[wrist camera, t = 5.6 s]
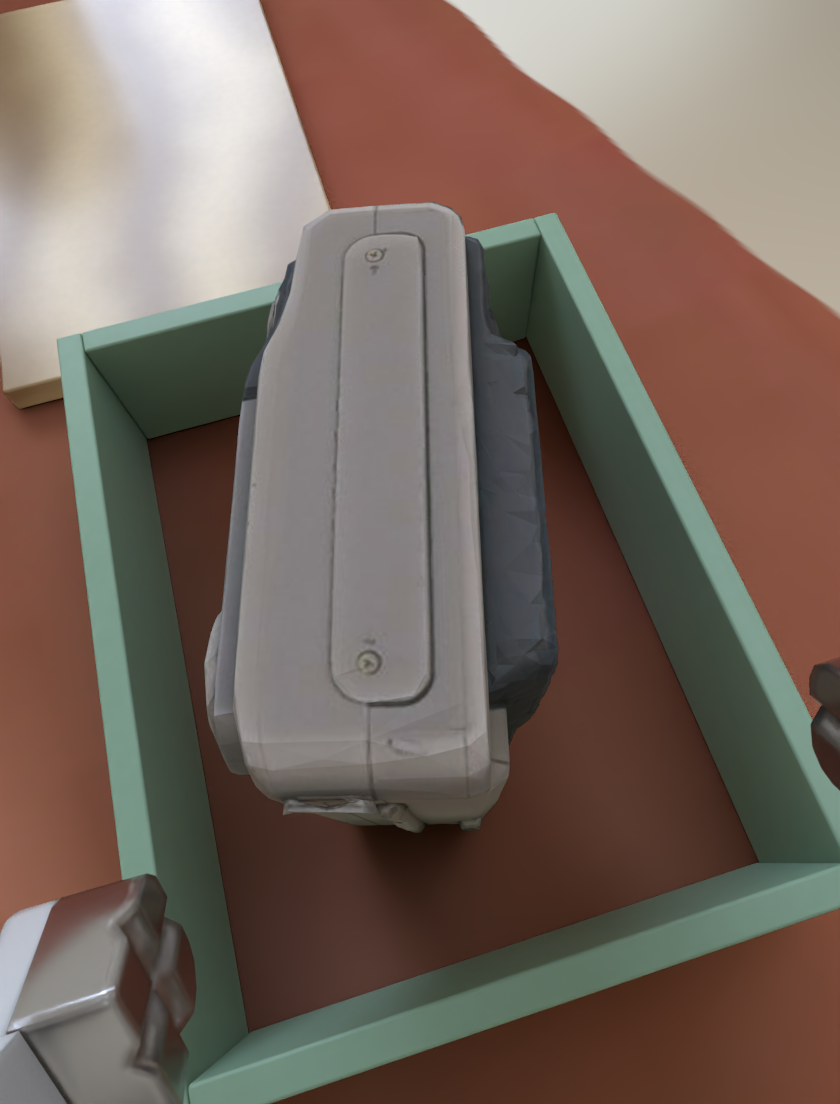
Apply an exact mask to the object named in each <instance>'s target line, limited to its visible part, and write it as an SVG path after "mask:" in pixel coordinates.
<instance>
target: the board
mask: <svg viewBox="0 0 840 1104" xmlns="http://www.w3.org/2000/svg"><path fill="white" fill-rule="evenodd" d="M329 210H331V208H330V205H329V202H328V199H327V196H326V193H325V190H324V187H323V184H322V181H321V178H320V176H319V173H318V170H317V167H316V164H315V161H314V158H313V155H312V152H311V149H310V146H309V143H308V140H307V137H306V134H305V131H304V128H303V125H302V122H301V119H300V117H299V114H298V111H297V108H296V105H295V102H294V99H293V96H292V93H291V90H290V87H289V84H288V81H287V78H286V75H285V72H284V69H283V66H282V63H281V60H280V58H279V55H278V52H277V49H276V46H275V43H274V40H273V37H272V34H271V31H270V28H269V25H268V22H267V19H266V16H265V13H264V10H263V7H262V4H261V1H260V0H62V1H57V2H53V3H48V4H44V5H39V6H34V7H30V8H25V9H21V10H16V11H12V12H7V13H2V14H0V362H1V375H2V387H3V393H4V394H5V395H6V396H7V397H8V398H9V399H10V400H11V401H12V402H13V403H14V405H15V406H16V407H17V408H19V409H21V408H25V407H29V406H33V405H37V404H41V403H44V402H48V401H52V400H56V399H60V398H63V390H62V381H61V373H60V365H59V357H58V349H57V339H58V338H62V337H66V336H70V335H74V334H78V333H80V334H83V333H84V332H86V331H90V330H94V329H98V328H102V327H106V326H110V325H114V324H118V323H122V322H126V321H130V320H134V319H138V318H142V317H145V316H149V315H153V314H157V313H161V312H165V311H169V310H173V309H177V308H181V307H185V306H189V305H193V304H197V303H201V302H204V301H208V300H212V299H216V298H220V297H224V296H228V295H232V294H236V293H240V292H244V291H248V290H252V289H256V288H260V287H263V286H267V285H271V284H275V283H279V282H283V280H284V278H285V274H286V270H287V266H288V264H289V263H291V262H293V261H295V260H296V257H297V253H298V249H299V244H300V240H301V236H302V231H303V227H304V226H305V225H306V224H308V223H310V222H311V221H313V220H314V219H316V218H317V217H319V216H321V215H322V214H324V213H325V212H327V211H329Z"/></svg>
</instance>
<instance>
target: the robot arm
mask: <svg viewBox="0 0 840 1104" xmlns="http://www.w3.org/2000/svg"><path fill="white" fill-rule="evenodd" d="M809 686H810V695H811V696H812V697H813V698H814V699H815V700H816V701H817V702H818V703H819V704H820V705H822V706H821V707H820V709H819V711H818V712H817V714H816V716H815V717H814V719H813V721H812V723H811V724H810V725H811V738H812V747H813V750H814V752H815V755H816V757H817V759H818V762H819V764H820V767H821V769H822V770H823V771H824V773H825V774H826V776H827V777H828V778H829V780H830V781H831V782H832V784H833V785H834V786H835V787H836V788H837V789H838V790H839V791H840V657H839V658H836V659H833V660H830V661H827V662H823V663H820V664H817V665H814V667H813V670H812V672H811V674H810V677H809ZM166 903H167V895H166V893H165V891H164V889H163V888H162V886H161V884H160V882H159V880H158V879H157V877H156V876H155V875H151V874H148V873H146V874H143V875H139V876H136V877H132V878H129V879H125V880H122V881H118V882H115V883H111V884H108V885H104V886H101V887H97V888H94V889H90V890H87V891H83V892H80V893H76V894H73V895H69V896H66V897H62V898H61V899H60V900H55V901H51V902H48V903H44V904H41V905H37V906H34V907H31V908H27V909H24V910H20V911H17V912H16V913H15V914H14V915H12V916H11V917H10V918H9V919H8V920H7V921H6V922H5V924H4V926H3V928H2V931H1V933H0V1104H183V1101H184V1093H185V1085H186V1077H187V1069H188V1061H189V1051H188V1049H187V1047H186V1045H185V1043H184V1041H183V1039H182V1037H181V1035H180V1033H181V1032H182V1030H183V1029H184V1027H185V1026H186V1024H187V1023H188V1021H189V1020H190V1018H191V1017H192V1015H193V1014H194V1011H195V1001H196V991H197V985H196V973H195V961H194V957H193V953H192V950H191V946H190V943H189V940H188V937H187V935H186V933H185V931H184V929H183V927H182V925H181V924H179V923H177V922H175V921H173V920H171V919H169V918H167V917H165V916H164V914H165V908H166Z"/></svg>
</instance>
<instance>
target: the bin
mask: <svg viewBox="0 0 840 1104" xmlns="http://www.w3.org/2000/svg"><path fill="white" fill-rule="evenodd" d="M465 237H472V238H476V239H478V240H479V242H480V243H481V245H482V246H483V248H484V250H485V252H484V261H485V266H486V272H487V277H488V282H489V287H490V290H489V305H488V308H489V309H490V310H491V311H492V312H493V315H494V318H495V320H496V323H497V325H498V328H499V331H500V334H501V338H503V339H506V340H508V341H511V342H513V341H517V340H521V339H524V338H525V337H527V339H528V341H529V344H530V346H531V348H532V350H533V353H534V355H535V357H536V360H537V362H538V364H539V366H540V369H541V371H542V373H543V375H544V378H545V380H546V382H547V384H548V387H549V389H550V391H551V393H552V396H553V398H554V400H555V402H556V405H557V407H558V409H559V411H560V414H561V416H562V418H563V420H564V423H565V425H566V427H567V429H568V432H569V434H570V436H571V439H572V441H573V443H574V445H575V448H576V450H577V452H578V454H579V457H580V459H581V461H582V463H583V466H584V468H585V470H586V472H587V475H588V477H589V479H590V481H591V484H592V486H593V488H594V490H595V493H596V495H597V497H598V499H599V502H600V504H601V506H602V509H603V511H604V513H605V515H606V518H607V520H608V522H609V524H610V527H611V529H612V531H613V533H614V536H615V538H616V540H617V542H618V545H619V547H620V549H621V551H622V554H623V556H624V558H625V560H626V563H627V565H628V567H629V569H630V572H631V574H632V576H633V578H634V581H635V583H636V585H637V588H638V590H639V592H640V594H641V597H642V599H643V601H644V603H645V606H646V608H647V610H648V612H649V615H650V617H651V619H652V621H653V624H654V626H655V628H656V630H657V633H658V635H659V637H660V639H661V642H662V644H663V646H664V648H665V651H666V653H667V655H668V657H669V660H670V662H671V664H672V667H673V669H674V671H675V673H676V676H677V678H678V680H679V682H680V685H681V687H682V689H683V691H684V694H685V696H686V698H687V700H688V703H689V705H690V707H691V709H692V712H693V714H694V716H695V718H696V721H697V723H698V725H699V727H700V730H701V732H702V734H703V736H704V739H705V741H706V743H707V746H708V748H709V750H710V752H711V755H712V757H713V759H714V761H715V764H716V766H717V768H718V770H719V773H720V775H721V777H722V779H723V782H724V784H725V786H726V788H727V791H728V793H729V795H730V797H731V800H732V802H733V804H734V806H735V809H736V811H737V813H738V816H739V818H740V820H741V822H742V825H743V827H744V829H745V831H746V834H747V836H748V838H749V840H750V843H751V845H752V847H753V849H754V852H755V854H756V856H757V858H758V861H759V863H754V864H751V865H748V866H745V867H742V868H739V869H736V870H733V871H730V872H727V873H724V874H721V875H718V876H715V877H712V878H709V879H706V880H703V881H700V882H697V883H694V884H691V885H688V886H685V887H682V888H679V889H676V890H673V891H670V892H667V893H664V894H661V895H658V896H655V897H652V898H649V899H646V900H643V901H640V902H637V903H634V904H631V905H628V906H625V907H622V908H619V909H616V910H613V911H610V912H607V913H604V914H601V915H598V916H595V917H592V918H589V919H586V920H583V921H581V922H578V923H575V924H572V925H569V926H566V927H563V928H560V929H557V930H554V931H551V932H548V933H545V934H542V935H539V936H536V937H533V938H530V939H527V940H524V941H521V942H518V943H515V944H512V945H509V946H506V947H503V948H500V949H497V950H494V951H491V952H488V953H485V954H482V955H479V956H476V957H473V958H470V959H467V960H464V961H461V962H458V963H455V964H452V965H449V966H446V967H443V968H440V969H437V970H434V971H431V972H428V973H425V974H422V975H419V976H416V977H413V978H410V979H407V980H404V981H401V982H398V983H395V984H392V985H389V986H386V987H383V988H380V989H377V990H374V991H371V992H368V993H365V994H362V995H359V996H356V997H353V998H350V999H347V1000H344V1001H341V1002H338V1003H335V1004H332V1005H329V1006H326V1007H323V1008H320V1009H317V1010H314V1011H311V1012H308V1013H305V1014H302V1015H299V1016H296V1017H293V1018H290V1019H287V1020H284V1021H281V1022H278V1023H275V1024H272V1025H269V1026H266V1027H263V1028H260V1029H257V1030H254V1031H252V1032H251V1033H248V1027H247V1021H246V1016H245V1010H244V1004H243V998H242V992H241V987H240V981H239V975H238V969H237V963H236V957H235V952H234V946H233V940H232V934H231V928H230V922H229V917H228V911H227V905H226V899H225V893H224V887H223V882H222V876H221V870H220V864H219V858H218V852H217V847H216V841H215V835H214V829H213V823H212V817H211V812H210V806H209V800H208V794H207V788H206V783H205V777H204V771H203V765H202V759H201V753H200V748H199V742H198V736H197V730H196V724H195V718H194V713H193V707H192V701H191V695H190V689H189V683H188V678H187V672H186V666H185V660H184V654H183V648H182V643H181V637H180V631H179V625H178V619H177V614H176V608H175V602H174V596H173V590H172V584H171V579H170V573H169V567H168V561H167V555H166V549H165V544H164V538H163V532H162V526H161V520H160V514H159V509H158V503H157V497H156V491H155V485H154V479H153V474H152V468H151V462H150V456H149V450H148V444H147V439H146V437H147V438H148V439H150V438H154V437H158V436H162V435H165V434H169V433H173V432H176V431H180V430H184V429H188V428H191V427H195V426H199V425H203V424H206V423H210V422H214V421H218V420H221V419H225V418H229V417H233V416H236V415H240V413H241V406H242V399H243V393H244V387H245V380H246V378H247V375H248V373H249V370H250V368H251V365H252V363H253V362H254V360H255V359H256V357H257V355H258V354H259V352H260V351H261V349H262V347H263V345H264V343H265V341H266V339H267V324H268V318H269V314H270V310H271V306H272V302H273V301H275V298H276V295H277V292H278V289H279V288H280V286H281V284H282V282H279V283H275V284H271V285H267V286H263V287H260V288H256V289H252V290H248V291H244V292H240V293H236V294H232V295H228V296H224V297H220V298H216V299H212V300H208V301H204V302H201V303H197V304H193V305H189V306H185V307H181V308H177V309H173V310H169V311H165V312H161V313H157V314H153V315H149V316H145V317H142V318H138V319H134V320H130V321H126V322H122V323H118V324H114V325H110V326H106V327H102V328H98V329H94V330H90V331H86V332H84V333H83V334H80V333H78V334H74V335H70V336H66V337H62V338H58V339H57V349H58V357H59V365H60V373H61V381H62V390H63V398H64V406H65V414H66V422H67V431H68V439H69V447H70V455H71V464H72V472H73V480H74V488H75V496H76V505H77V513H78V521H79V529H80V537H81V546H82V554H83V562H84V570H85V579H86V587H87V595H88V603H89V611H90V620H91V628H92V636H93V644H94V652H95V661H96V669H97V677H98V685H99V694H100V702H101V710H102V718H103V726H104V735H105V743H106V751H107V759H108V767H109V776H110V784H111V792H112V800H113V809H114V817H115V825H116V833H117V841H118V850H119V858H120V866H121V874H122V880H125V879H129V878H132V877H136V876H139V875H143V874H146V873H148V874H151V875H155V876H156V877H157V879H158V880H159V882H160V884H161V886H162V888H163V889H164V891H165V893H166V895H167V903H166V908H165V914H164V916H165V917H167V918H169V919H171V920H173V921H175V922H177V923H179V924H181V925H182V927H183V929H184V931H185V933H186V935H187V937H188V940H189V943H190V946H191V950H192V953H193V957H194V961H195V973H196V985H197V991H196V1001H195V1011H194V1014H193V1015H192V1017H191V1018H190V1020H189V1021H188V1023H187V1024H186V1026H185V1027H184V1029H183V1030H182V1032H181V1033H180V1035H181V1037H182V1039H183V1041H184V1043H185V1045H186V1047H187V1049H188V1051H189V1061H188V1069H187V1077H186V1085H185V1093H184V1101H183V1104H271V1103H274V1102H277V1101H280V1100H283V1099H286V1098H289V1097H292V1096H295V1095H297V1094H300V1093H303V1092H306V1091H309V1090H312V1089H315V1088H318V1087H321V1086H324V1085H327V1084H330V1083H333V1082H335V1081H338V1080H341V1079H344V1078H347V1077H350V1076H353V1075H356V1074H359V1073H362V1072H365V1071H368V1070H370V1069H373V1068H376V1067H379V1066H382V1065H385V1064H388V1063H391V1062H394V1061H397V1060H400V1059H403V1058H405V1057H408V1056H411V1055H414V1054H417V1053H420V1052H423V1051H426V1050H429V1049H432V1048H435V1047H438V1046H440V1045H443V1044H446V1043H449V1042H452V1041H455V1040H458V1039H461V1038H464V1037H467V1036H470V1035H473V1034H475V1033H478V1032H481V1031H484V1030H487V1029H490V1028H493V1027H496V1026H499V1025H502V1024H505V1023H508V1022H510V1021H513V1020H516V1019H519V1018H522V1017H525V1016H528V1015H531V1014H534V1013H537V1012H540V1011H543V1010H545V1009H548V1008H551V1007H554V1006H557V1005H560V1004H563V1003H566V1002H569V1001H572V1000H575V999H578V998H580V997H583V996H586V995H589V994H592V993H595V992H598V991H601V990H604V989H607V988H610V987H613V986H615V985H618V984H621V983H624V982H627V981H630V980H633V979H636V978H639V977H642V976H645V975H648V974H650V973H653V972H656V971H659V970H662V969H665V968H668V967H671V966H674V965H677V964H680V963H683V962H685V961H688V960H691V959H694V958H697V957H700V956H703V955H706V954H709V953H712V952H715V951H718V950H720V949H723V948H726V947H729V946H732V945H735V944H738V943H741V942H744V941H747V940H750V939H753V938H755V937H758V936H761V935H764V934H767V933H770V932H773V931H776V930H779V929H782V928H785V927H788V926H791V925H793V924H796V923H799V922H802V921H805V920H808V919H811V918H814V917H817V916H820V915H823V914H826V913H828V912H831V911H834V910H837V909H840V791H839V790H838V789H837V788H836V787H835V786H834V785H833V784H832V782H831V781H830V780H829V778H828V777H827V776H826V774H825V773H824V771H823V770H822V769H821V767H820V764H819V762H818V759H817V757H816V755H815V752H814V750H813V747H812V738H811V725H810V724H811V723H812V721H813V720H812V718H811V716H810V714H809V712H808V710H807V708H806V706H805V704H804V702H803V700H802V698H801V696H800V694H799V692H798V690H797V688H796V686H795V684H794V682H793V680H792V678H791V676H790V675H789V673H788V671H787V669H786V667H785V665H784V663H783V661H782V659H781V657H780V655H779V653H778V651H777V649H776V647H775V645H774V643H773V641H772V639H771V637H770V635H769V633H768V631H767V629H766V627H765V625H764V623H763V621H762V619H761V617H760V615H759V613H758V611H757V609H756V607H755V605H754V603H753V601H752V599H751V597H750V595H749V593H748V592H747V590H746V588H745V586H744V584H743V582H742V580H741V578H740V576H739V574H738V572H737V570H736V568H735V566H734V564H733V562H732V560H731V558H730V556H729V554H728V552H727V550H726V548H725V546H724V544H723V542H722V540H721V538H720V536H719V534H718V532H717V530H716V528H715V526H714V524H713V522H712V520H711V518H710V516H709V514H708V512H707V510H706V508H705V507H704V505H703V503H702V501H701V499H700V497H699V495H698V493H697V491H696V489H695V487H694V485H693V483H692V481H691V479H690V477H689V475H688V473H687V471H686V469H685V467H684V465H683V463H682V461H681V459H680V457H679V455H678V453H677V451H676V449H675V447H674V445H673V443H672V441H671V439H670V437H669V435H668V433H667V431H666V429H665V427H664V425H663V424H662V422H661V420H660V418H659V416H658V414H657V412H656V410H655V408H654V406H653V404H652V402H651V400H650V398H649V396H648V394H647V392H646V390H645V388H644V386H643V384H642V382H641V380H640V378H639V376H638V374H637V372H636V370H635V368H634V366H633V364H632V362H631V360H630V358H629V356H628V354H627V352H626V350H625V348H624V346H623V344H622V342H621V340H620V339H619V337H618V335H617V333H616V331H615V329H614V327H613V325H612V323H611V321H610V319H609V317H608V315H607V313H606V311H605V309H604V307H603V305H602V303H601V301H600V299H599V297H598V295H597V293H596V291H595V289H594V287H593V285H592V283H591V281H590V279H589V277H588V275H587V273H586V271H585V269H584V267H583V265H582V263H581V261H580V259H579V257H578V256H577V254H576V252H575V250H574V248H573V246H572V244H571V242H570V240H569V238H568V236H567V234H566V232H565V230H564V228H563V226H562V224H561V222H560V220H559V218H558V216H557V214H556V213H551V214H547V215H543V216H539V217H536V218H535V219H534V220H533V219H527V220H523V221H519V222H515V223H511V224H507V225H503V226H499V227H496V228H492V229H488V230H484V231H480V232H476V233H472V234H468V235H465Z"/></svg>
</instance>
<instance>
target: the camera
mask: <svg viewBox="0 0 840 1104" xmlns="http://www.w3.org/2000/svg"><path fill="white" fill-rule="evenodd" d="M484 252H485V250H484V248H483V246H482V245H481V243H480V242H479V240H478V239H476V238H472V237H465V230H464V226H463V222H462V218H461V216H460V215H458V214H457V213H456V212H455V211H454V210H453V209H452V208H450V207H447V206H444V205H441V204H438V203H435V202H429V203H413V204H397V205H381V206H367V207H356V208H344V209H332V210H329V211H327V212H325V213H324V214H322V215H321V216H319V217H317V218H316V219H314V220H313V221H311V222H310V223H308V224H306V225H305V226H304V227H303V231H302V236H301V240H300V244H299V249H298V253H297V257H296V260H295V261H293V262H291V263H289V264H288V266H287V270H286V274H285V278H284V280H283V282H282V284H281V286H280V288H279V289H278V292H277V295H276V298H275V301H273V302H272V306H271V310H270V314H269V318H268V324H267V339H266V341H265V343H264V345H263V347H262V349H261V351H260V352H259V354H258V355H257V357H256V359H255V360H254V362H253V363H252V365H251V368H250V370H249V373H248V375H247V378H246V380H245V387H244V393H243V399H242V406H241V413H240V420H239V429H238V441H237V453H236V464H235V476H234V487H233V497H232V507H231V518H230V528H229V539H228V549H227V560H226V570H225V581H224V592H223V603H222V611H221V613H220V614H219V615H218V616H217V618H216V620H215V623H214V626H213V629H212V631H211V635H210V640H209V644H208V649H207V654H206V658H205V663H204V668H205V687H206V705H207V714H208V721H209V725H210V727H211V730H212V732H213V735H214V737H215V740H216V742H217V743H218V747H219V749H220V751H221V754H222V756H223V759H224V761H225V763H226V765H227V767H228V769H229V771H230V772H232V773H235V774H238V775H250V776H251V778H252V780H253V782H254V784H255V786H256V787H257V788H258V789H259V790H260V791H261V792H262V793H263V794H264V795H265V796H266V797H267V798H269V799H271V800H274V801H277V802H280V803H283V804H284V805H283V815H287V814H293V813H315V814H318V815H321V816H324V817H328V818H332V819H335V820H339V821H342V822H345V823H348V824H353V825H396V826H397V827H400V828H403V829H405V830H409V831H411V832H415V833H420V832H421V831H422V830H423V829H424V827H425V826H426V825H427V824H459V825H460V828H461V829H462V830H463V831H473V830H479V829H480V825H481V819H482V818H483V817H484V816H485V815H486V814H487V813H488V812H489V811H490V809H491V808H492V807H493V806H494V805H495V803H496V802H497V801H498V799H499V796H500V793H501V791H502V789H503V787H504V785H505V783H506V781H507V779H508V776H509V768H510V759H509V744H510V742H511V741H512V737H513V734H514V733H515V731H516V729H517V728H518V727H520V726H521V725H523V724H524V723H525V722H526V721H528V720H529V719H530V718H531V716H532V715H533V714H534V713H535V711H536V710H537V708H538V706H539V703H540V700H541V699H542V697H543V696H544V695H545V692H546V690H547V688H548V686H549V684H550V681H551V677H552V675H553V674H554V673H555V670H556V667H557V664H558V642H557V634H556V622H555V608H554V595H553V582H552V569H551V558H550V549H549V541H548V532H547V523H546V510H545V497H544V484H543V471H542V458H541V447H540V437H539V428H538V418H537V409H536V399H535V386H534V373H533V367H532V360H531V356H530V355H529V354H528V353H527V352H526V351H525V350H523V349H520V348H517V345H516V344H515V343H513V342H511V341H508V340H506V339H503V338H501V334H500V331H499V328H498V325H497V323H496V320H495V318H494V315H493V312H492V311H491V310H490V309H489V308H488V305H489V290H490V287H489V282H488V277H487V272H486V266H485V261H484Z"/></svg>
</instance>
